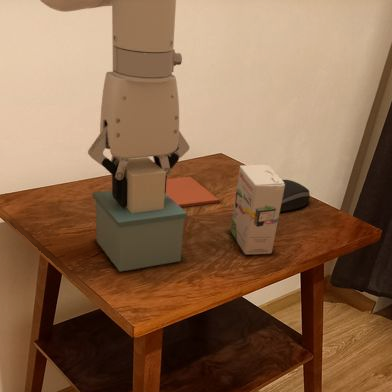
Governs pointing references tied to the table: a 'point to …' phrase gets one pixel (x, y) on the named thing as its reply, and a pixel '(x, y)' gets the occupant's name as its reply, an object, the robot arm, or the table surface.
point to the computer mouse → (294, 196)
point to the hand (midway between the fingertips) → (139, 199)
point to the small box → (144, 185)
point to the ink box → (257, 208)
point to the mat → (188, 192)
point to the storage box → (138, 233)
